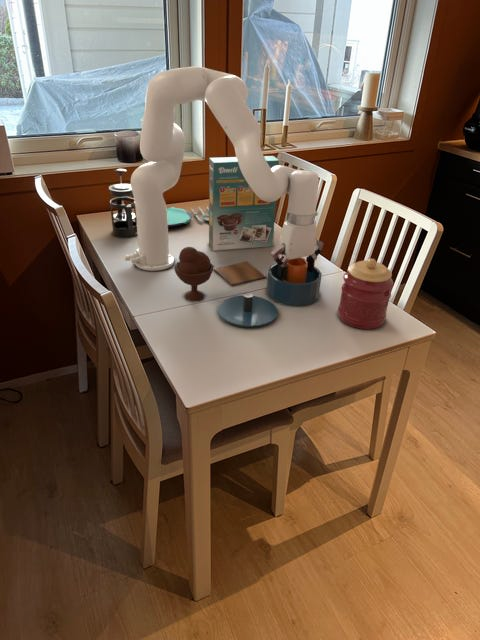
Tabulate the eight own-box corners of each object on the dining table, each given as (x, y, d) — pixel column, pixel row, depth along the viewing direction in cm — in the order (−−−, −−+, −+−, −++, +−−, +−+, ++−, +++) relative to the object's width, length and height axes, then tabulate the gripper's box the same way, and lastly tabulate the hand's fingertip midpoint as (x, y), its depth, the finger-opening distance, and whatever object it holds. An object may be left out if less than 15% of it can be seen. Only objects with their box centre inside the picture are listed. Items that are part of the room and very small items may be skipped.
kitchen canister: (393, 318, 139) (407, 260, 130) (368, 335, 131) (380, 275, 122) (354, 301, 147) (364, 245, 138) (327, 316, 139) (336, 257, 130)
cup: (289, 299, 146) (293, 268, 141) (277, 289, 151) (280, 259, 145) (308, 294, 149) (312, 263, 143) (295, 285, 153) (298, 255, 148)
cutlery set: (135, 214, 202) (135, 208, 200) (207, 208, 211) (207, 203, 210) (145, 232, 186) (144, 226, 185) (222, 225, 195) (222, 219, 194)
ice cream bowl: (184, 308, 140) (183, 259, 132) (170, 291, 148) (168, 243, 140) (219, 301, 144) (220, 253, 136) (203, 284, 152) (203, 238, 144)
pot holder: (231, 285, 152) (232, 284, 152) (213, 270, 161) (213, 268, 161) (265, 278, 158) (265, 276, 157) (246, 263, 166) (246, 261, 166)
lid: (236, 334, 129) (236, 316, 126) (207, 306, 141) (207, 288, 138) (288, 320, 137) (290, 302, 134) (257, 294, 149) (258, 277, 146)
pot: (286, 311, 141) (288, 289, 137) (256, 287, 152) (258, 266, 149) (329, 299, 148) (332, 278, 144) (298, 277, 159) (300, 257, 155)
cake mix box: (267, 239, 185) (273, 155, 169) (272, 246, 180) (279, 160, 164) (208, 243, 179) (209, 157, 163) (212, 250, 174) (213, 162, 158)
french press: (108, 229, 187) (101, 167, 175) (132, 225, 191) (127, 164, 179) (118, 241, 178) (112, 176, 166) (144, 236, 182) (139, 172, 170)
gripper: (317, 209, 144) (311, 263, 153) (266, 218, 137) (263, 275, 145) (334, 217, 139) (327, 273, 147) (282, 227, 131) (278, 285, 140)
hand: (295, 274), depth 146 cm, fingers open, 9 cm apart
